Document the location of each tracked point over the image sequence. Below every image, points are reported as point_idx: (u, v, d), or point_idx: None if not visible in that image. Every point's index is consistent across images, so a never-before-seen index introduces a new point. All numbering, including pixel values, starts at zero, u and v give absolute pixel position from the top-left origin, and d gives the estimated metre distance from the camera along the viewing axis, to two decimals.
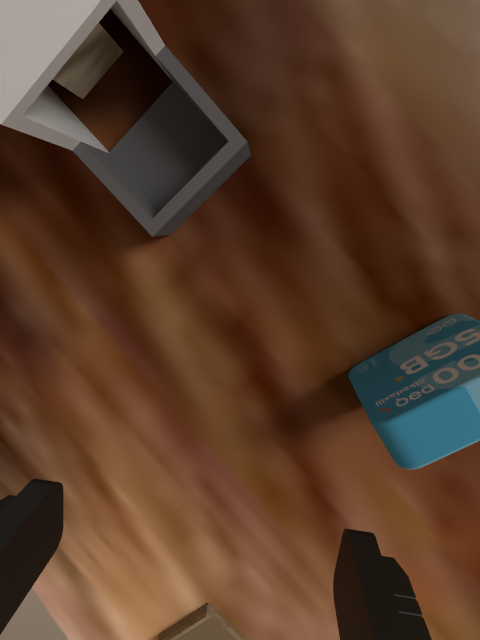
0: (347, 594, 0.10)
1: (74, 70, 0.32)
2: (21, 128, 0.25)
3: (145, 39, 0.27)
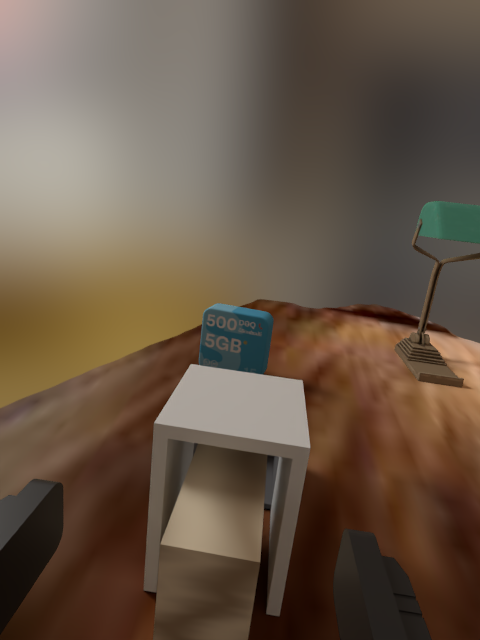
0: (347, 594, 0.10)
1: None
2: None
3: None
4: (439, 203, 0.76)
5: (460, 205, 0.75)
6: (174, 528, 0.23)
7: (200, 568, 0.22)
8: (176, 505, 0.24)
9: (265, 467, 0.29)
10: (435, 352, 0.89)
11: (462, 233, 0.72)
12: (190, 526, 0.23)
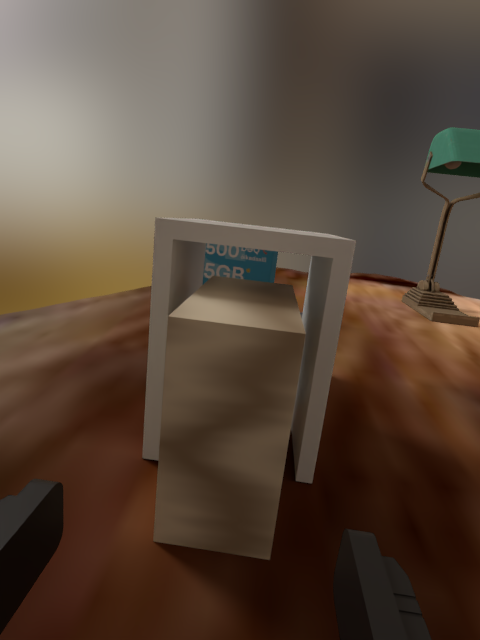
0: (347, 594, 0.10)
1: None
2: None
3: None
4: (452, 128, 0.71)
5: (474, 130, 0.71)
6: (186, 311, 0.17)
7: (222, 350, 0.16)
8: (186, 301, 0.19)
9: (293, 295, 0.24)
10: (446, 297, 0.84)
11: (478, 156, 0.67)
12: (206, 311, 0.17)
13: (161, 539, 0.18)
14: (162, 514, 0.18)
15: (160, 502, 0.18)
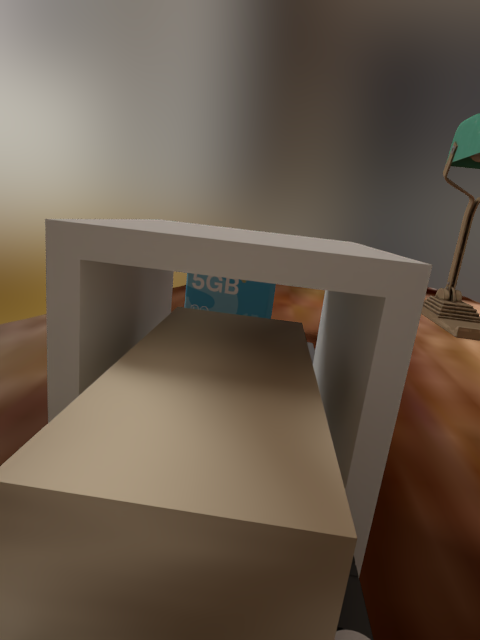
0: None
1: None
2: None
3: None
4: None
5: None
6: (60, 440, 0.07)
7: (134, 566, 0.06)
8: (86, 394, 0.09)
9: (306, 350, 0.14)
10: (470, 308, 0.74)
11: None
12: (113, 436, 0.07)
13: None
14: None
15: None
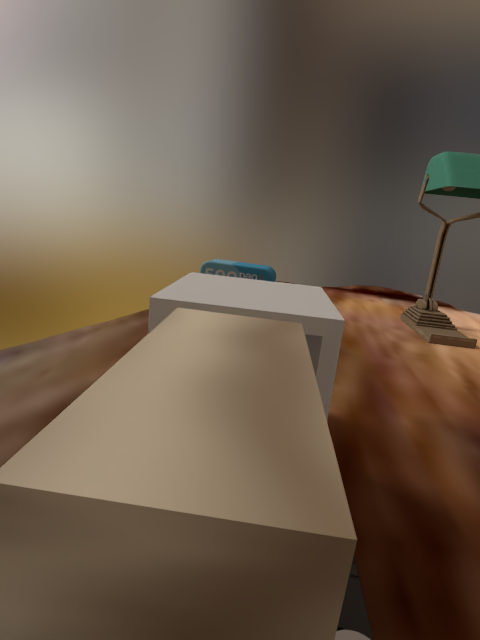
0: None
1: None
2: None
3: None
4: (448, 153, 0.72)
5: (470, 154, 0.72)
6: (59, 442, 0.07)
7: (133, 567, 0.06)
8: (85, 395, 0.09)
9: (306, 350, 0.14)
10: (444, 317, 0.85)
11: (473, 181, 0.68)
12: (112, 437, 0.07)
13: None
14: None
15: None
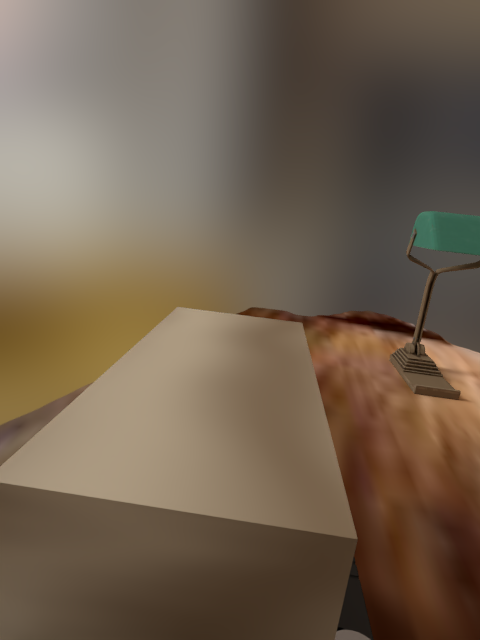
0: None
1: None
2: None
3: None
4: (434, 213, 0.75)
5: (455, 215, 0.74)
6: (59, 441, 0.07)
7: (133, 567, 0.06)
8: (85, 394, 0.09)
9: (306, 350, 0.14)
10: (431, 363, 0.88)
11: (457, 245, 0.71)
12: (112, 437, 0.07)
13: None
14: None
15: None
